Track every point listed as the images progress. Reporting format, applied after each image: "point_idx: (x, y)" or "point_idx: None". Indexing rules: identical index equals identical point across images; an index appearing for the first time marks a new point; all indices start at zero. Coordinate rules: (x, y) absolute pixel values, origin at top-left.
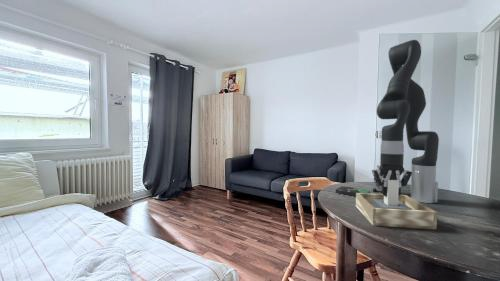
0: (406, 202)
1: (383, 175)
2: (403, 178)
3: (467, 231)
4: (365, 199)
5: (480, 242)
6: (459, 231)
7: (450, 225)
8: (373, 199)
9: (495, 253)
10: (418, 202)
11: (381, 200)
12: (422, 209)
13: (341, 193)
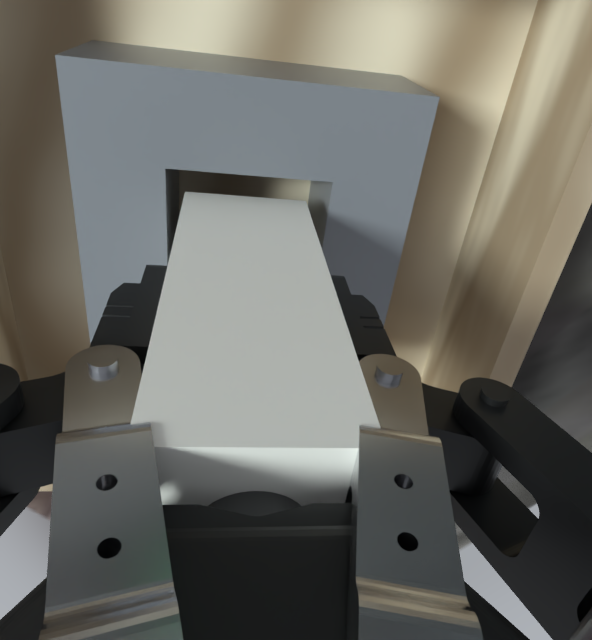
0: (578, 16)
1: (41, 594)
2: (535, 527)
3: (585, 395)
4: None
5: (507, 487)
6: (539, 400)
7: (581, 328)
8: (71, 68)
9: (463, 547)
10: (547, 281)
11: (181, 117)
12: (476, 351)
13: None
